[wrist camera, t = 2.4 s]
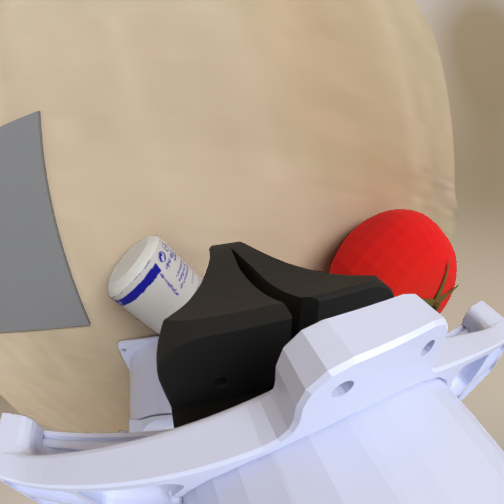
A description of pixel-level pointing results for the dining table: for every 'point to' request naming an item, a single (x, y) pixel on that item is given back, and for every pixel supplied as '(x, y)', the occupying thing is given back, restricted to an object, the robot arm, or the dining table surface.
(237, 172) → the dining table surface
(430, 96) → the dining table surface
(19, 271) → the mat
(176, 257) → the beverage can
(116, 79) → the dining table surface
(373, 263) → the tomato
